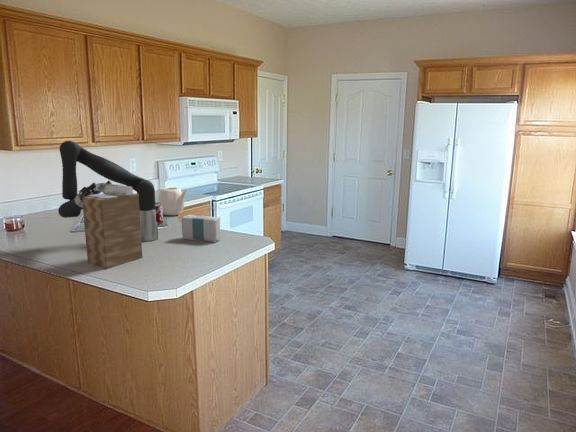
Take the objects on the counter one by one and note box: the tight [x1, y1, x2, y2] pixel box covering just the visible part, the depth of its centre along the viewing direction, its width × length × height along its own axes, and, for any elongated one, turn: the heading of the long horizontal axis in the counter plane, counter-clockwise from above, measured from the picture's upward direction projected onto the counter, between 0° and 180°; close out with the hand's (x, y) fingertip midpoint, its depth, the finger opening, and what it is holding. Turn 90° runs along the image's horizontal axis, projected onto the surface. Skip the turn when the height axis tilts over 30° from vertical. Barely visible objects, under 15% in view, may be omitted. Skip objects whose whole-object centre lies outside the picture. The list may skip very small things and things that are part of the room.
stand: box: [82, 192, 143, 270], centre depth 209 cm, size 14×20×32 cm
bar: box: [96, 182, 134, 195], centre depth 210 cm, size 22×4×4 cm, turn 58°
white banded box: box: [181, 205, 221, 242], centre depth 249 cm, size 21×8×20 cm, turn 73°
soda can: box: [155, 203, 164, 225], centre depth 287 cm, size 7×7×12 cm
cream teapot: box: [158, 186, 187, 216], centre depth 314 cm, size 16×27×19 cm, turn 59°
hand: (102, 183), depth 214 cm, fingers open, 8 cm apart
